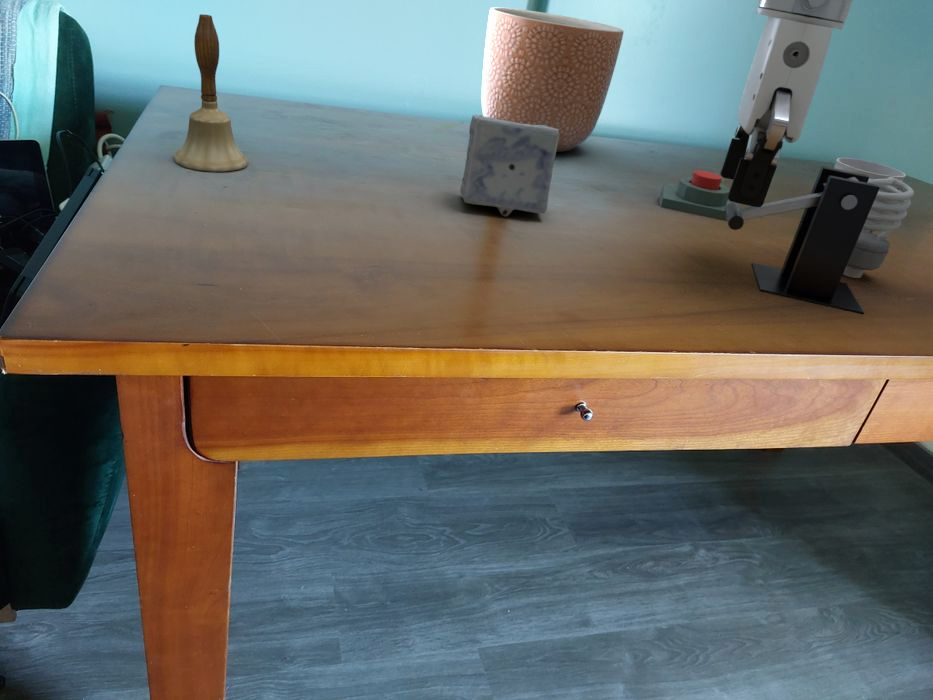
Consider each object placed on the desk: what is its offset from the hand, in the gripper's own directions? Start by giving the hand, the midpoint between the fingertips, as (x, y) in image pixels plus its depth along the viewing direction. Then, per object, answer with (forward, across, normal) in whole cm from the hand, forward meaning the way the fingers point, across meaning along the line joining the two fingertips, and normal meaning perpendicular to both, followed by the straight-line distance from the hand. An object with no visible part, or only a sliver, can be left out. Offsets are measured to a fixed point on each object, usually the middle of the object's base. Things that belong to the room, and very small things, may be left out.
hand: (739, 190), depth 73 cm
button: (+6, +24, +1) cm, 24 cm away
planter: (+10, +46, +26) cm, 54 cm away
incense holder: (+10, +8, +24) cm, 28 cm away
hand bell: (+10, +1, +58) cm, 59 cm away
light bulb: (+9, +9, -16) cm, 20 cm away
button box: (+9, +24, 0) cm, 25 cm away
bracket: (+9, 0, -10) cm, 13 cm away
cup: (+9, +25, -18) cm, 33 cm away
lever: (+1, 0, -6) cm, 6 cm away
